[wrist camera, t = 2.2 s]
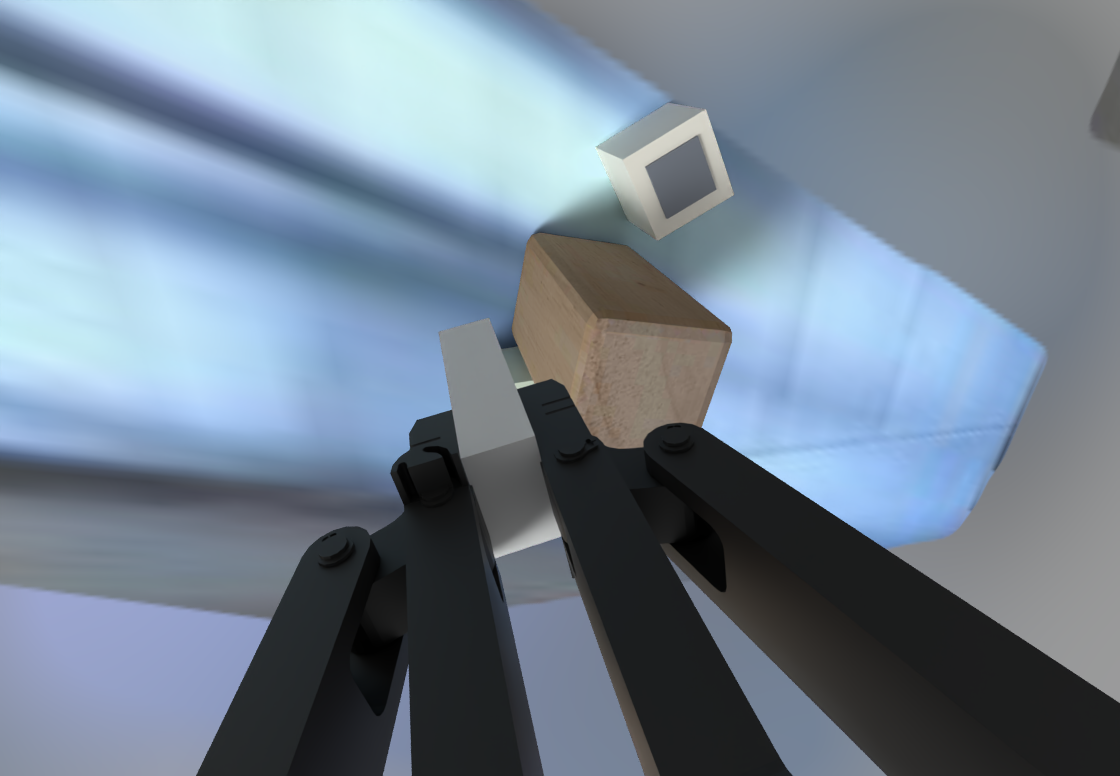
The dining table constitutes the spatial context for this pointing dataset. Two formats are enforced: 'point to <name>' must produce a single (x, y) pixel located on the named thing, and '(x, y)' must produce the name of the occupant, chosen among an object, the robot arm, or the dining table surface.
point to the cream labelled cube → (666, 169)
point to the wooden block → (616, 337)
